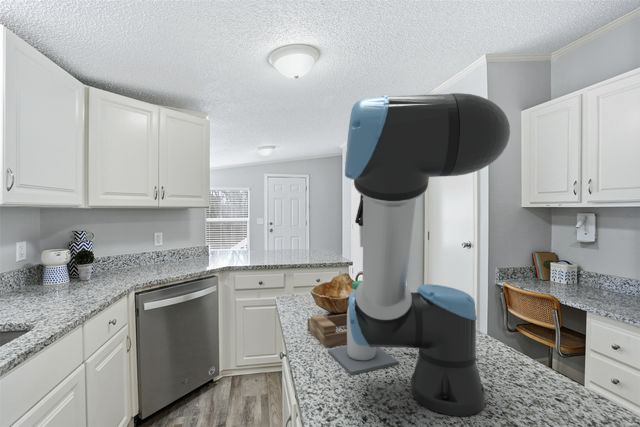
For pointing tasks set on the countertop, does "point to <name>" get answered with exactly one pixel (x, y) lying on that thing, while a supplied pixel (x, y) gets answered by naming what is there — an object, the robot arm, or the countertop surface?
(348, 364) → the rubber mat
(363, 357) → the milk bottle
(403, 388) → the countertop surface
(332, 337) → the frame
